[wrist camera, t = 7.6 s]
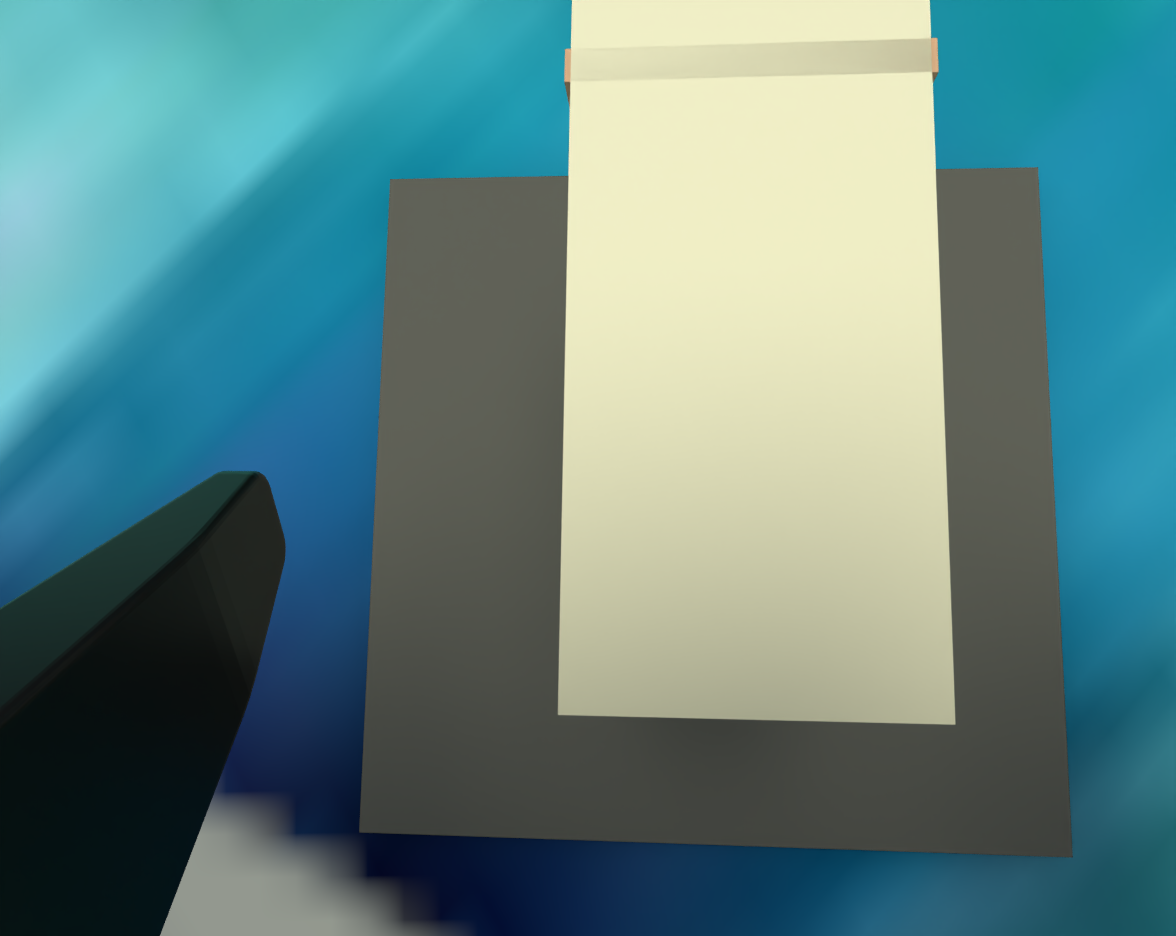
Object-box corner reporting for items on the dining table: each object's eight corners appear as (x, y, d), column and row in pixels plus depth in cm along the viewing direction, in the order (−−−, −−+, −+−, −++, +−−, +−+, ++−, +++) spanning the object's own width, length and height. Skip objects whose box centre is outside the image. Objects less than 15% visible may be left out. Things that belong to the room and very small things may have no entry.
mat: (1058, 849, 17) (1072, 856, 17) (369, 825, 18) (359, 832, 18) (1026, 181, 19) (1038, 167, 18) (398, 192, 20) (390, 179, 19)
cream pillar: (796, 663, 17) (961, 725, 8) (617, 660, 18) (551, 714, 8) (792, 326, 18) (935, -12, 8) (621, 328, 19) (567, -1, 9)
